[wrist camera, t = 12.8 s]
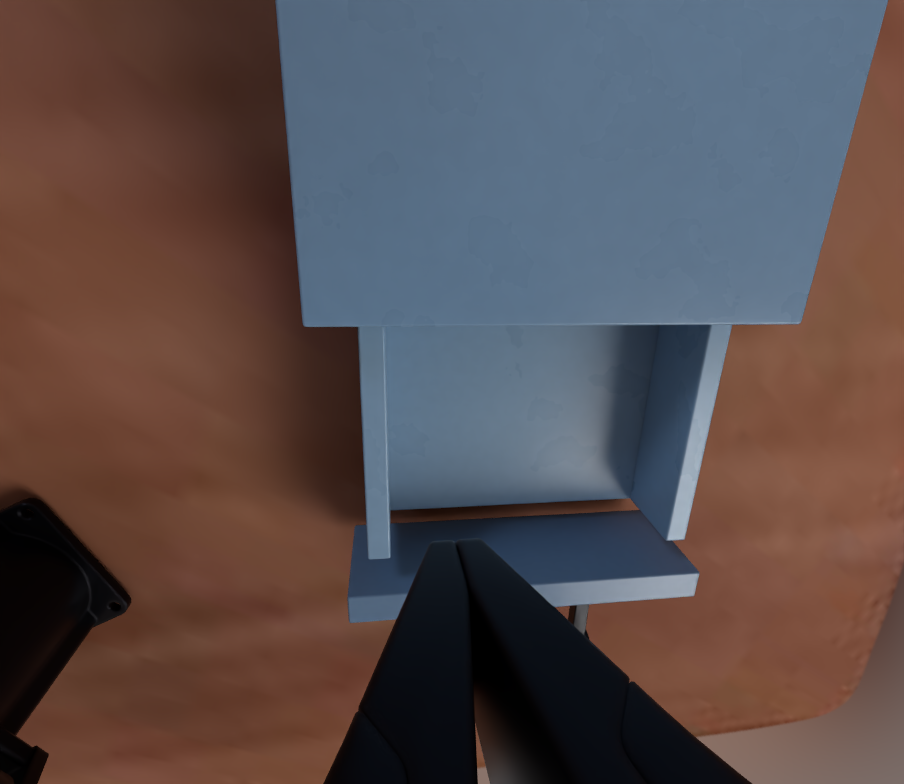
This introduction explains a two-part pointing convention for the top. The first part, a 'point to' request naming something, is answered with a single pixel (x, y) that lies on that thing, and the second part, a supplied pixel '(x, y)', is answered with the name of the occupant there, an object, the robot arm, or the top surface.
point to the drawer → (535, 454)
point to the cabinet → (566, 157)
